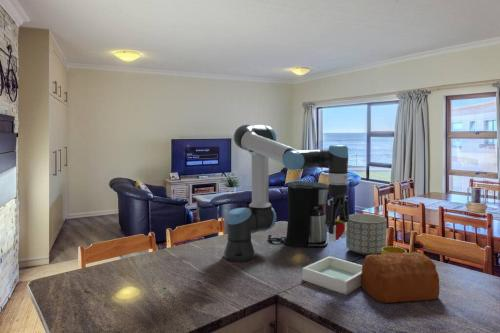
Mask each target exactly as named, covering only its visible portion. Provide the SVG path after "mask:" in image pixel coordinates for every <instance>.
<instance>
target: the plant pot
mask: <svg viewBox="0 0 500 333" xmlns="http://www.w3.org/2000/svg"><path fill="white" fill-rule="evenodd" d="M391 253H408V252H407V249H405V248H402V247H399V246H393V245H392V246H391V245H390V246H387V245H386V247H383V248H382V249H381V253H380V254H391Z"/></svg>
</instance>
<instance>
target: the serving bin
mask: <svg viewBox="0 0 500 333" xmlns="http://www.w3.org/2000/svg"><path fill="white" fill-rule="evenodd" d="M362 265H363V264H360V263H355V262H351V261H348V260H345V259H341V258H337V257H335V256H326V257H324V258H321V259H320V260H318V261H315V262H314V263H313V262H312V263H310V264H308V265H306V266H303V267H302V280H303V281H305V282H308V283H311V284H314V285H317V286H320V287H322V288H325V289H328V290H331V291H333V292H335V293H336V292H337V293H339V294H342V295H345V296H347V295H349V294H350V293H352V292H353V291H355V290H357V289H358V288H359V287H362V285H361V276H362Z"/></svg>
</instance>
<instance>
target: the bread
mask: <svg viewBox="0 0 500 333" xmlns="http://www.w3.org/2000/svg"><path fill="white" fill-rule="evenodd" d="M361 265H362V276H361V287H362V289H363V290H364V291H365V292H366V294H368V295H369V296H371V297H372V298H373V299H374V300H376V301H378V302H379V303H382V304H386V303H387V304H389V303H402V302H403V303H404V302H405V303H406V302H416V301H417V302H419V301H431V300H437V299H439V297H440V278H439V273H438V271H437V266H436V264H435V262H434V261H433V260H432V259H431V258H430V257H428V256H427V255H426V254H424V253H423V252H419V251H412V252H407V253H391V254H381V253H378V254H376V255H374V254H373V255H367V256H364V262H363V264H361Z"/></svg>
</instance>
